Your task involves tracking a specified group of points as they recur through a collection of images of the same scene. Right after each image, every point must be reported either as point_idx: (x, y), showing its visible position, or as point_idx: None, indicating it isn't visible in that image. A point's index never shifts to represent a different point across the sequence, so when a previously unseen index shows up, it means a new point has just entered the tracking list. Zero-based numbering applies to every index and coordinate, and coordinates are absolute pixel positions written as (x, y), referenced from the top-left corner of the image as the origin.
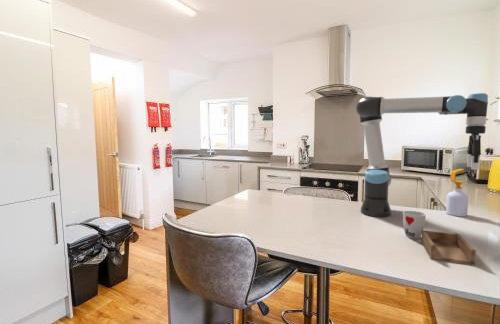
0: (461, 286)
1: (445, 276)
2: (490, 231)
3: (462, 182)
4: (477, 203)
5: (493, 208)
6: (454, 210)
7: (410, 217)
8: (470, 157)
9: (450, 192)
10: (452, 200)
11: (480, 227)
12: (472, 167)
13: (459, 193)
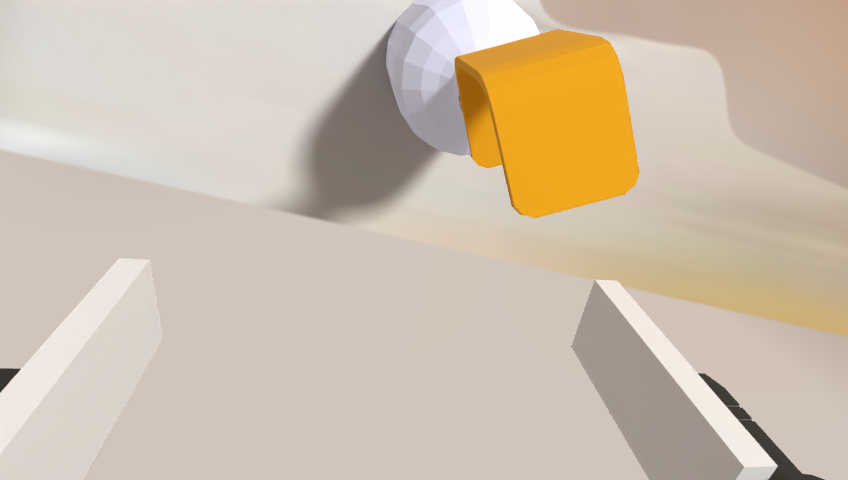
0: None
1: None
2: (103, 152)
3: (469, 142)
4: (772, 244)
5: (659, 287)
6: (396, 36)
7: None
8: (674, 438)
9: (492, 23)
10: (408, 24)
11: (164, 122)
12: (106, 291)
13: (432, 90)
